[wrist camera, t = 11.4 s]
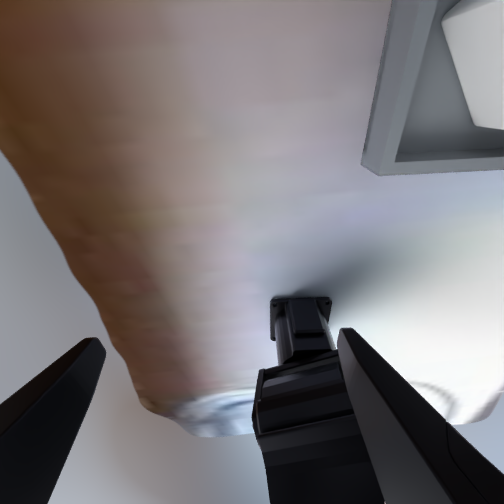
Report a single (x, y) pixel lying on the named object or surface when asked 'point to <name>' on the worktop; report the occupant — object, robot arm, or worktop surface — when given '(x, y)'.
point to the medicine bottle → (479, 57)
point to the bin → (424, 102)
